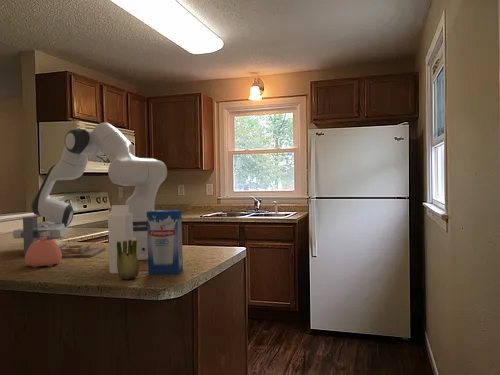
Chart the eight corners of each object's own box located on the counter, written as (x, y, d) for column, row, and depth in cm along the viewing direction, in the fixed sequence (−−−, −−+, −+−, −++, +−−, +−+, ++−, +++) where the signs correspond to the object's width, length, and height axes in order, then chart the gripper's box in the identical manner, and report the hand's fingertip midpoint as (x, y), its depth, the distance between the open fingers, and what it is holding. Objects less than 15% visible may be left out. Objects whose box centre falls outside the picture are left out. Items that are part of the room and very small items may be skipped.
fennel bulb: (115, 280, 129) (114, 240, 128) (124, 276, 133) (123, 238, 133) (133, 281, 127) (132, 241, 127) (141, 277, 132) (140, 238, 132)
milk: (127, 273, 138) (125, 205, 137) (109, 273, 139) (107, 206, 138) (134, 269, 144) (132, 204, 143) (117, 269, 145) (115, 204, 144)
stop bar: (38, 254, 180) (37, 216, 180) (33, 256, 176) (32, 217, 176) (28, 254, 180) (27, 216, 180) (24, 256, 176) (22, 217, 176)
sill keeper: (105, 249, 188) (105, 242, 188) (91, 257, 170) (91, 249, 170) (55, 251, 187) (55, 244, 187) (35, 258, 169) (35, 251, 169)
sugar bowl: (21, 270, 148) (20, 240, 148) (30, 262, 162) (29, 235, 161) (59, 267, 151) (58, 238, 151) (65, 260, 165) (64, 233, 165)
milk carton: (148, 274, 136) (146, 211, 135) (153, 270, 142) (151, 210, 142) (179, 274, 135) (177, 211, 135) (183, 269, 142) (181, 209, 141)
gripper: (21, 224, 191) (4, 228, 177) (67, 223, 191) (54, 226, 178) (22, 239, 191) (5, 243, 177) (68, 237, 192) (55, 242, 178)
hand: (30, 235), depth 177 cm, fingers open, 8 cm apart
